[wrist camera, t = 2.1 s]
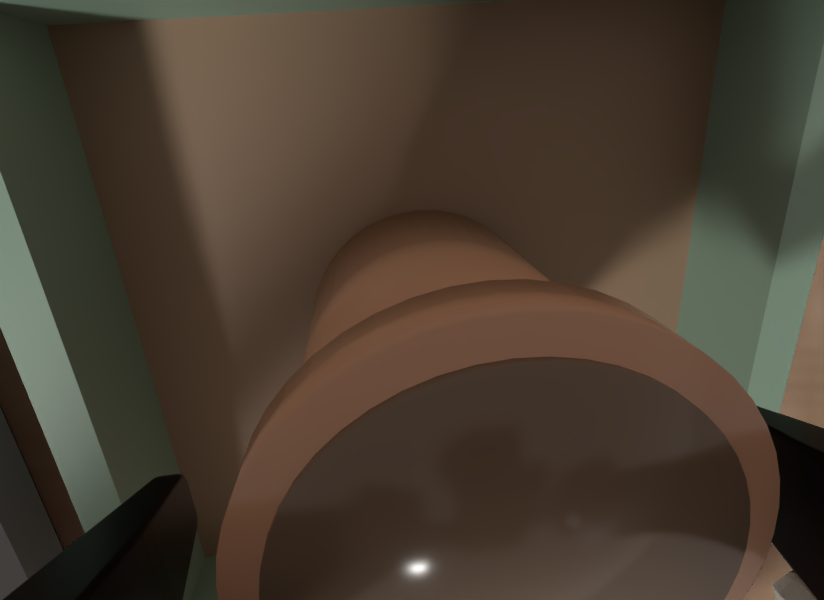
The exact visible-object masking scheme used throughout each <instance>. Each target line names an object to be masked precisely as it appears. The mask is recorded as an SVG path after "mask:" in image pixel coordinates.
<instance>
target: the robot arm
mask: <svg viewBox="0 0 824 600" xmlns="http://www.w3.org/2000/svg"><path fill="white" fill-rule="evenodd" d="M757 408H758V410H759V411H760V413H761V415H762V417H763V419H764V420H765V422H766V424H767V426H768V429H769V432H770V435H771V438H772V441H773V444H774V447H775V450H776V454H777V461H778V468H779V475H780V497H779V510H778V515H777V520H776V526H775V531H774V535H773V538H772V541H771V542H772V543H773V544H774V546H775V547H776V548H777V550H778V551H779V552H780V554H781V555H782V556H783V557H784V559H785V560H786V561H787V563H788V564H789V565H790V566H791V568H792V569H793V570H794V571H795V573H796V574H797V575H798V576H799V578H800V579H801V580H802V581H803V583H804V584H805V585H806V586H807V588H808V589H809V590H810V592H811V593H812V594H813V595H814V597H815V598H816V599H817V600H824V428H821V427H818V426H815V425H812V424H809V423H806V422H803V421H800V420H797V419H794V418H791V417H788V416H785V415H782V414H780V413H777V412H774V411H771V410H768V409H765V408H762V407H759V406H757ZM197 526H198V516H197V511H196V507H195V504H194V501H193V497H192V494H191V490H190V487H189V483H188V480H187V478H186V477H185V476H184V475H183V474H171V475H163V476H158V477H155V478H154V479H152V480H151V481H150V482H148V483H147V484H146V485H145V486H143V487H142V488H141V489H140V490H138V491H137V492H136V493H135V494H133V495H132V496H131V497H130V498H128V499H127V500H126V501H125V502H123V503H122V504H121V505H120V506H118V507H117V508H116V509H115V510H113V511H112V512H111V513H110V514H108V515H107V516H106V517H105V518H103V519H102V520H101V521H100V522H98V523H97V524H96V525H95V526H93V527H92V528H91V529H90V530H88V531H87V532H86V533H85V534H83V535H82V536H81V537H80V538H78V539H77V540H76V541H75V542H73V543H72V544H71V545H70V546H68V547H67V548H66V549H65V550H63V551H62V552H61V553H60V554H58V555H57V556H56V557H55V558H53V559H52V560H51V561H50V562H48V563H47V564H46V565H45V566H43V567H42V568H41V569H40V570H38V571H37V572H36V573H35V574H33V575H32V576H31V577H30V578H28V579H27V580H26V581H25V582H23V583H22V584H21V585H20V586H18V587H17V588H16V589H15V590H13V591H12V592H11V593H10V594H8V595H7V596H6V597H5V598H3V599H2V600H183V597H184V592H185V587H186V582H187V577H188V572H189V567H190V562H191V557H192V552H193V547H194V542H195V537H196V532H197Z"/></svg>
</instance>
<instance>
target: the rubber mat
mask: <svg viewBox="0 0 824 600" xmlns="http://www.w3.org/2000/svg"><path fill="white" fill-rule="evenodd" d="M62 551H63V549H62V546H61V544H60V542H59V539H58V537H57V535H56V533H55V530H54V528H53V526H52V524H51V521H50V519H49V517H48V514H47V512H46V510H45V508H44V505H43V503H42V501H41V499H40V496H39V494H38V492H37V489H36V487H35V485H34V483H33V480H32V478H31V476H30V473H29V471H28V469H27V467H26V464H25V462H24V460H23V458H22V455H21V453H20V451H19V448H18V446H17V444H16V442H15V439H14V437H13V435H12V433H11V430H10V428H9V426H8V423H7V421H6V419H5V417H4V414H3V412H2V410H1V408H0V600H2V599H3V598H5V597H6V596H7V595H8V594H10V593H11V592H12V591H13V590H15V589H16V588H17V587H18V586H20V585H21V584H22V583H23V582H25V581H26V580H27V579H28V578H30V577H31V576H32V575H33V574H35V573H36V572H37V571H38V570H40V569H41V568H42V567H43V566H45V565H46V564H47V563H48V562H50V561H51V560H52V559H53V558H55V557H56V556H57V555H58V554H60V553H61V552H62Z"/></svg>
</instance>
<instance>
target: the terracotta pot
mask: <svg viewBox="0 0 824 600" xmlns="http://www.w3.org/2000/svg"><path fill="white" fill-rule="evenodd" d="M779 497H780V475H779V468H778V461H777V454H776V450H775V447H774V444H773V441H772V438H771V435H770V432H769V429H768V426H767V424H766V422H765V420H764V419H763V417H762V415H761V413H760V411H759V410H758V408H757V406H756V404H755V403H754V401H753V399H752V398H751V397H750V396H749V394H748V393H747V392H746V391H745V390H744V388H743V387H742V386H741V385H740V384H739V383H738V381H737V380H736V379H735V378H734V377H733V376H732V375H731V374H730V373H729V372H728V371H726V370H725V369H724V368H723V367H722V366H720V365H719V364H718V363H717V362H715V361H714V360H713V359H712V358H711V357H709V356H708V355H707V354H705V353H704V352H703V351H701V350H700V349H698V348H697V347H695V346H694V345H692V344H691V343H689V342H688V341H687V340H685V339H684V338H682V337H681V336H679V335H678V334H676V333H675V332H674V331H672V330H671V329H669V328H668V327H666V326H665V325H663V324H662V323H660V322H659V321H658V320H656V319H655V318H653V317H651V316H650V315H648V314H646V313H644V312H643V311H641V310H639V309H638V308H636V307H634V306H632V305H631V304H629V303H627V302H625V301H622V300H619V299H617V298H614V297H612V296H609V295H607V294H604V293H602V292H599V291H597V290H592V289H588V288H584V287H579V286H575V285H571V284H567V283H562V282H552V281H551V280H549V279H548V278H547V277H546V276H545V275H544V274H542V273H541V272H540V271H539V270H538V269H537V268H535V267H534V266H533V265H532V264H531V263H530V262H529V261H527V260H526V259H525V258H524V257H523V256H522V255H520V254H519V253H518V252H517V251H516V250H515V249H513V248H512V247H511V246H510V245H509V244H508V243H506V242H505V241H504V240H503V239H502V238H501V237H499V236H498V235H497V234H496V233H494V232H493V231H492V230H491V229H489V228H488V227H486V226H484V225H482V224H481V223H479V222H477V221H475V220H473V219H470V218H468V217H465V216H463V215H459V214H455V213H451V212H445V211H436V210H418V211H411V212H405V213H400V214H397V215H393V216H390V217H387V218H385V219H382V220H380V221H378V222H375V223H373V224H372V225H370V226H368V227H367V228H365V229H363V230H362V231H360V232H359V233H358V234H356V235H355V236H354V237H353V238H351V239H350V240H349V241H348V242H347V243H346V244H345V245H344V246H343V247H342V248H341V249H340V250H339V251H338V252H337V254H336V255H335V257H334V258H333V259H332V261H331V262H330V263H329V265H328V267H327V269H326V271H325V273H324V275H323V277H322V279H321V282H320V285H319V287H318V290H317V295H316V300H315V305H314V309H313V314H312V319H311V324H310V329H309V334H308V339H307V343H306V348H305V353H304V358H303V363H302V366H301V367H300V368H299V369H298V370H297V371H296V372H295V373H294V374H293V375H292V376H291V377H290V378H289V379H288V380H287V381H286V383H285V384H284V385H283V387H282V388H281V389H280V391H279V392H278V393H277V395H276V396H275V397H274V399H273V400H272V401H271V403H270V404H269V405H268V407H267V408H266V410H265V412H264V414H263V415H262V417H261V419H260V421H259V423H258V425H257V426H256V428H255V430H254V432H253V434H252V436H251V438H250V441H249V444H248V447H247V450H246V452H245V455H244V458H243V461H242V463H241V467H240V470H239V473H238V476H237V479H236V482H235V485H234V488H233V491H232V495H231V498H230V501H229V504H228V507H227V510H226V513H225V516H224V520H223V523H222V526H221V531H220V537H219V543H218V549H217V554H216V588H217V593H218V598H219V600H742V599H743V598H744V596H745V595H746V593H747V592H748V590H749V589H750V587H751V586H752V584H753V582H754V580H755V578H756V576H757V574H758V572H759V570H760V568H761V566H762V564H763V562H764V560H765V558H766V555H767V552H768V549H769V546H770V543H771V541H772V538H773V535H774V531H775V526H776V520H777V515H778V510H779Z"/></svg>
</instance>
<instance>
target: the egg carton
mask: <svg viewBox="0 0 824 600" xmlns="http://www.w3.org/2000/svg"><path fill="white" fill-rule="evenodd" d="M772 587H773V590H774V592H775V600H817V599H816V598H815V597H814V595H813V594H812V593H811V592H810V590H809V589H808V588H807V586H806V585H805V584H804V583H803V581H802V580H801V579H800V578H799V576H798V575H797V574H796V573H794V572H790V573H788V574H786V575H785V576H784V577H782V578H781V579H780V580H778V581H777V582H776V583H775V584H773V585H772Z"/></svg>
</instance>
